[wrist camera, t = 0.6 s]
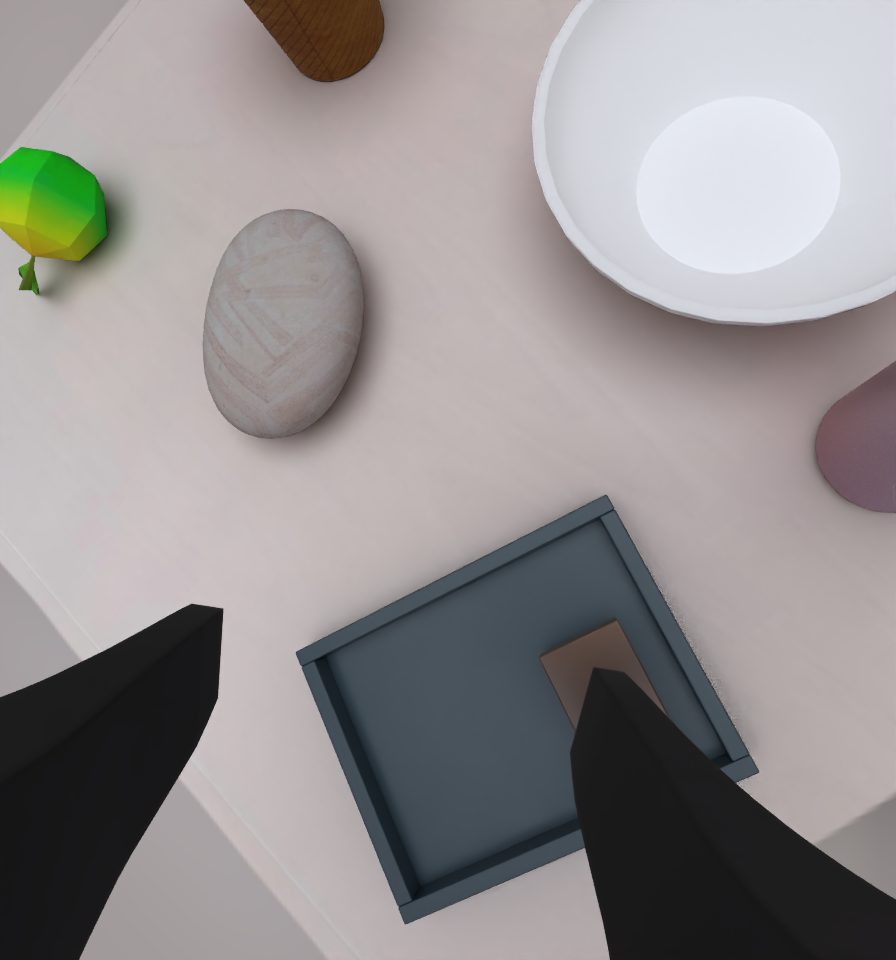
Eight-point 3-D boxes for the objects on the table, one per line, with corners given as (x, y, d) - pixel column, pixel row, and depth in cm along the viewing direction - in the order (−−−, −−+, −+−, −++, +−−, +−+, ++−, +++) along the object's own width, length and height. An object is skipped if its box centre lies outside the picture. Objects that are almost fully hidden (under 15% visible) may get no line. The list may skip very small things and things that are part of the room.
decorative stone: (352, 458, 36) (315, 441, 31) (213, 434, 38) (158, 414, 33) (398, 242, 37) (369, 194, 32) (260, 231, 39) (214, 184, 35)
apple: (-2, 103, 35) (-53, 255, 35) (123, 158, 38) (78, 300, 37) (16, 157, 42) (-27, 286, 41) (122, 201, 45) (84, 323, 44)
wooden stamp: (689, 755, 30) (715, 804, 23) (610, 790, 30) (615, 846, 24) (615, 615, 31) (621, 626, 25) (542, 650, 32) (529, 670, 26)
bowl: (630, -12, 36) (638, -142, 30) (1013, 70, 31) (1126, -66, 25) (485, 299, 36) (460, 236, 29) (852, 433, 31) (925, 395, 24)
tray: (748, 759, 30) (760, 773, 28) (416, 902, 32) (404, 925, 30) (605, 498, 33) (606, 494, 31) (312, 647, 35) (294, 652, 33)
